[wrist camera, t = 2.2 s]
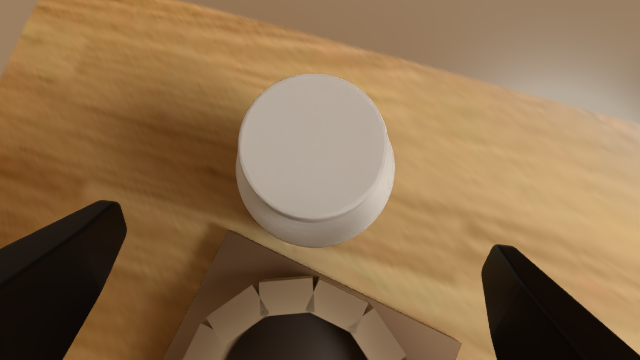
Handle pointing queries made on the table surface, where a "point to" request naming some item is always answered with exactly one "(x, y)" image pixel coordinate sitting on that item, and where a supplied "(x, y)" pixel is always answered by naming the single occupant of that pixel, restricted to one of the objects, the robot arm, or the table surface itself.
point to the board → (293, 315)
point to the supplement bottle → (314, 160)
